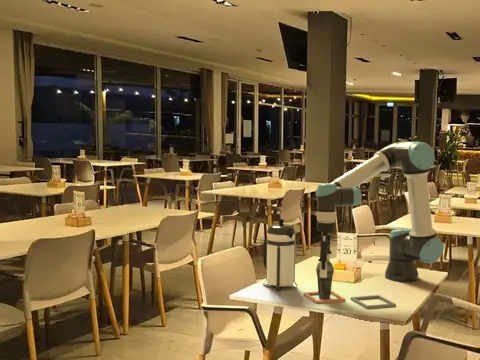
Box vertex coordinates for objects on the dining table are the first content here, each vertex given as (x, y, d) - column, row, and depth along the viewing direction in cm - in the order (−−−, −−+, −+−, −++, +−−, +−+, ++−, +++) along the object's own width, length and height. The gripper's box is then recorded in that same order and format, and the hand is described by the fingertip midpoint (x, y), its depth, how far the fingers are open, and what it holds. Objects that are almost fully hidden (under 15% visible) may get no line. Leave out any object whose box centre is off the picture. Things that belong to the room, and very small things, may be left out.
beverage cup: (335, 300, 226) (336, 251, 224) (317, 300, 226) (318, 251, 224) (331, 295, 234) (332, 247, 232) (313, 295, 233) (314, 247, 231)
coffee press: (300, 283, 252) (302, 217, 250) (293, 292, 237) (294, 222, 235) (263, 280, 257) (264, 215, 255) (253, 288, 242) (254, 219, 240)
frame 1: (331, 292, 237) (331, 290, 237) (345, 301, 225) (345, 298, 225) (303, 294, 234) (303, 292, 234) (316, 303, 222) (316, 301, 221)
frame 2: (378, 297, 231) (378, 295, 231) (395, 306, 219) (395, 303, 219) (350, 299, 228) (350, 297, 228) (366, 308, 216) (366, 306, 215)
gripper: (319, 217, 240) (318, 266, 242) (313, 225, 216) (312, 280, 217) (337, 217, 238) (336, 267, 240) (333, 226, 214) (331, 281, 216)
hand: (324, 273), depth 229 cm, fingers open, 13 cm apart
